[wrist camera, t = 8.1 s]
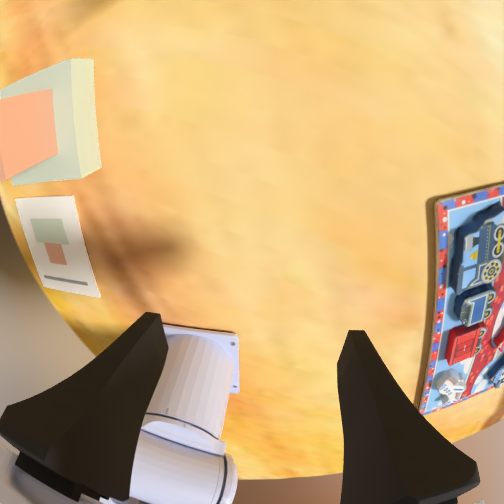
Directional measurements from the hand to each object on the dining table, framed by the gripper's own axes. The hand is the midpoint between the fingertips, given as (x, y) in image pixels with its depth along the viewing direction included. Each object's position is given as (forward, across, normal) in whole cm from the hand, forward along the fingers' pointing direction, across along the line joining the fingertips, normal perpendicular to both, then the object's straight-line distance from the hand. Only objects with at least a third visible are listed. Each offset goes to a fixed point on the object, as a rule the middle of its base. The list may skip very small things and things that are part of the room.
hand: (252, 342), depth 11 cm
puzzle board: (+11, -27, +7) cm, 30 cm away
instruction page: (+10, +19, +3) cm, 22 cm away
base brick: (+10, +16, -8) cm, 21 cm away
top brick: (+7, +16, -8) cm, 19 cm away
